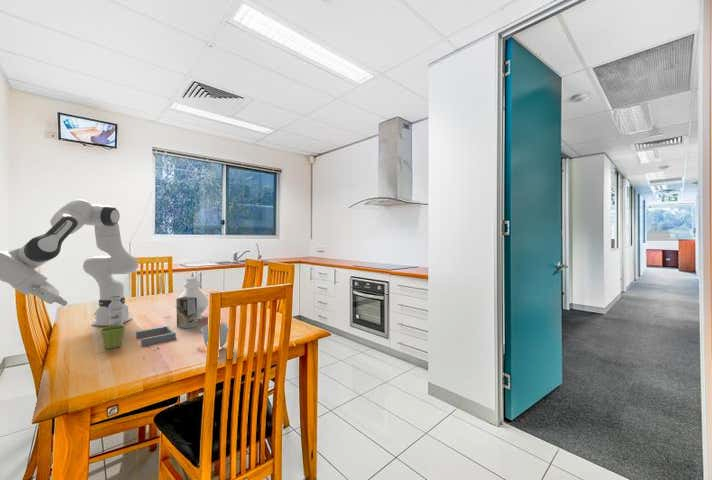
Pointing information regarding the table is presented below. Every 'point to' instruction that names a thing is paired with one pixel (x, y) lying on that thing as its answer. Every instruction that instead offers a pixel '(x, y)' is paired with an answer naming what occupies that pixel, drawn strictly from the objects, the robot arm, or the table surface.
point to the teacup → (222, 334)
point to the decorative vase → (195, 294)
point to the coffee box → (186, 312)
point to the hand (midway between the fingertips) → (66, 304)
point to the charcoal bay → (156, 339)
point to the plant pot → (112, 336)
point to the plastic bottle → (115, 311)
